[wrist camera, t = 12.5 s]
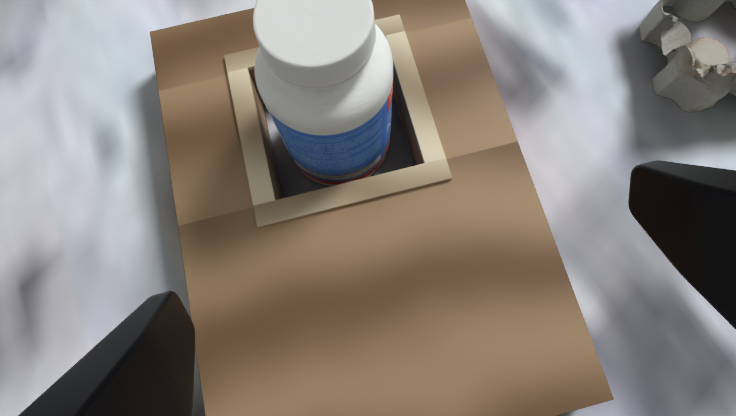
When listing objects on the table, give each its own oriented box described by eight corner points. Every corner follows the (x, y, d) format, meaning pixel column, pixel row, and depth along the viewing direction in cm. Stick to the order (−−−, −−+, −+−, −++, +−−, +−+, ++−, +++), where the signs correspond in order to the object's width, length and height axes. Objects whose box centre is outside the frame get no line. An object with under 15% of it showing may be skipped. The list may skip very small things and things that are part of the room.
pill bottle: (408, 160, 24) (428, 47, 14) (316, 206, 23) (272, 120, 14) (360, 78, 25) (350, -76, 16) (272, 120, 24) (205, -13, 15)
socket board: (585, 391, 20) (616, 399, 18) (238, 487, 20) (217, 511, 17) (444, -4, 26) (451, -41, 24) (171, 60, 25) (147, 29, 23)
